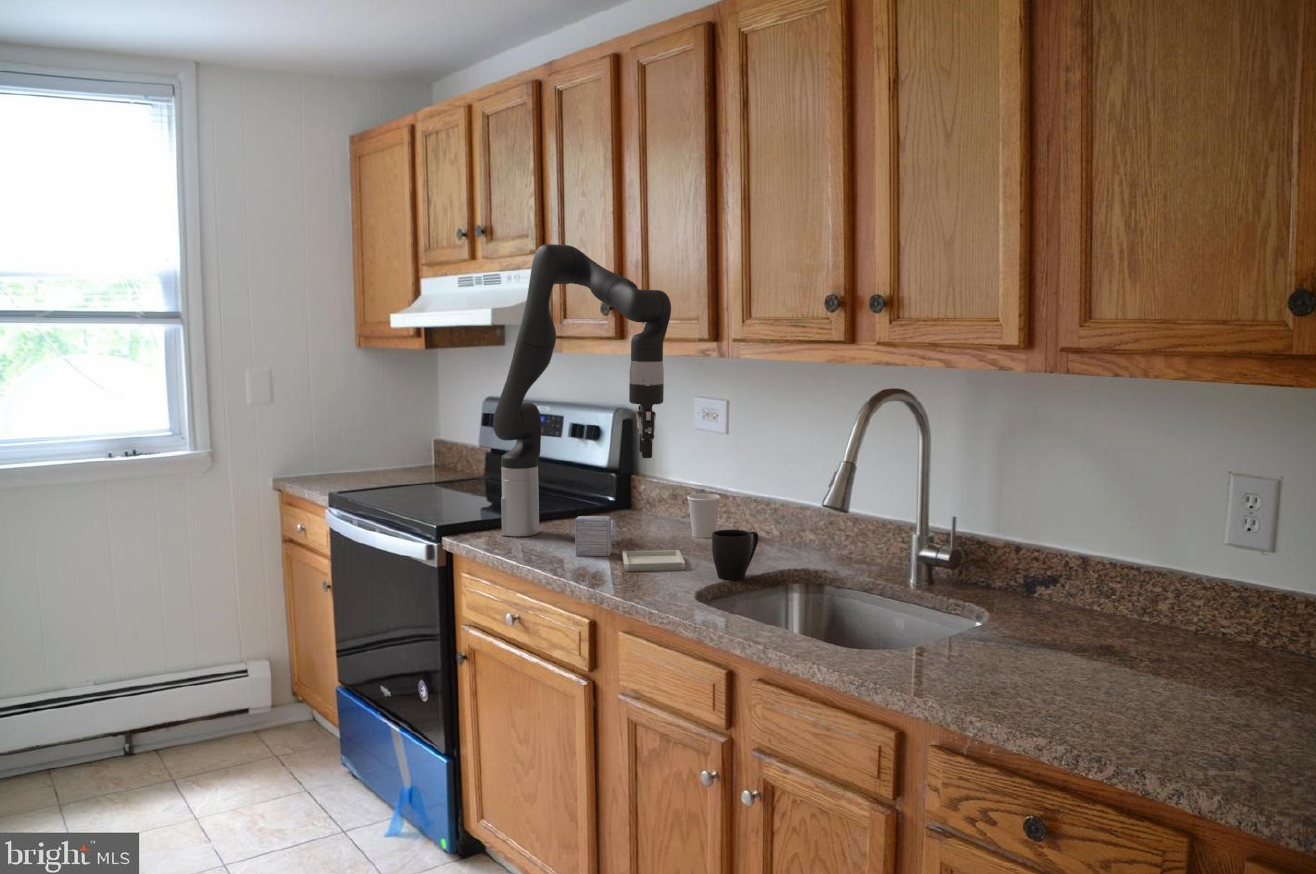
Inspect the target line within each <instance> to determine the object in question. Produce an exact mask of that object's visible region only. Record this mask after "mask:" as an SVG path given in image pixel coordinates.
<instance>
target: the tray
mask: <svg viewBox="0 0 1316 874" xmlns="http://www.w3.org/2000/svg"><path fill="white" fill-rule="evenodd" d="M621 557H622V562H623V567H624V568H623V569H624V572H652V571H653V572H655V571H656V572H657V571H658V572H660V571H661V572H662V571H663V572H664V571H686V562H685V560H684V558H683V555H682V552H681V551H680V549H667V550H661V549H660V550H622V556H621Z"/></svg>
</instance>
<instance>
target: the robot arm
mask: <svg viewBox="0 0 1316 874" xmlns="http://www.w3.org/2000/svg"><path fill="white" fill-rule="evenodd" d="M530 268H531V270H530V276H529V283H528V288H527V294H526V301H525V305H524V310H523V315H522V319H521V322H520V326H519V330H518V333H517V337H516V340H515V341H516V342H515V346H514V349H513V350H514V351H513V355H512V358H511V362H510V366H509V370H508V373H507V376H506V380H505V383H504V385H503V388H502V391H501V395H500V397H499V399H498V402H497V405H496V408H495V411H494V415H493V423H492V425H493V431H494V434H495V436H496V437H497V439H499V440H502V441H516V442H515V445H514V446H513V447H512V448H511V450H509V451H508V452H506V453H504V454H503V455H501V460H500V461H501V463H500V466H501V467H500V468H501V498H500V504H501V505H500V506H501V536H509V537H529V536H530V537H531V536H535V535H538V534H539V533H540V513H539V512H540V508H539V507H540V506H539V505H540V501H539V495H540V494H539V458H540V455H541V446H542V444H541V441H542V418H541V413H540V410H539V408H538V407H537V405H536V404H534V403H532V402H524V399H525V398H526V395H527V393H528V391H529V390H530V389H531V387H532V386H533V385H534V383H535V382H537V380H538V379H539V378H540V377H541V375H542V374H543V373H544V372H545V371H546V369H547V368H548V367H549V365H550V362H551V360H552V357H553V354H554V349H555V345H556V341H557V332H556V327H555V324H554V321H553V317H552V315H551V310H550V300H551V295H552V292H553V289H554V288H553V287H554V285H570V284H572V285H573V284H574V285H578V286H581V287H584V288H585V287H586V288H587V289H589V290H590V292H591V293H592V295H593V296H594V297H595V298H596V299H597V300H598V301H600V302H602V303H604V304H606V305H608V306H609V307H612V308H614V309H616V311H618V312H619V313H620V314H621V315H622V316H623V317H624V318H625V319H627V320H629V321H631V322H635V323H645V324H644V327H643V331H641V332H639V333H636V334H634V335H633V336H632V337H631V341H630V367H629V382H628V383H629V385H628V387H629V388H628V389H629V390H628V391H629V394H628V397H629V398H628V401H629V403H630V404H633V405H638V411H636V421H637V423H636V425H637V426H636V427H637V430H638V433H637V434H638V437H639V440H638V441H639V445H638V447H639V449H638V450H639V452H640V453H641V457H642V458H643V459H652V458H653V441H654V439H655V430H656V418H657V417H656V415H657V414H656V412H655V410H654V411H653V406H654V405H661V404H663V403H664V396H665V395H664V393H665V392H664V389H665V385H664V384H665V380H664V379H665V370H664V340H665V339H666V338H665V337H666V335H667V330H668V326H669V323H670V319H671V313H672V304H671V300H670V297H669V296H668V294H667V293H666V292H664V291H663V290H661V289H640V288H638V286H637V284H636V283H635V282H633V281H632V280H630V279H628V278H626V277H624V276H622V275H620V274H617V273H615V272H612V271H610V270H608V269H606V268H605V267H603V266H602V265H600V264H598V263H597V262H595V261H594V260H592V259H591V258H590V257H589V256H587V254H585V253H584V252H582V251H581V250H580V249H578V248H576V247H574V246H573V245H568V244H553V243H552V244H548V243H546V244H542V245H541V246H539V247H538V249H537V250H536V251H535V254H534V257H533V259H532V264H531V267H530Z"/></svg>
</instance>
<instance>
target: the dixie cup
mask: <svg viewBox="0 0 1316 874" xmlns="http://www.w3.org/2000/svg"><path fill="white" fill-rule="evenodd" d="M721 498H722V497H721V495H718V494H714V493H712V494H711V493H694V494H688V495H687V502H688V509H689V517H690V518H689V519H690V525H691V534H692V537H694V538H697V539H712V533H713V532H715V531H717V523H718V514H719V507H720V500H721Z"/></svg>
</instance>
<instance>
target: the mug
mask: <svg viewBox="0 0 1316 874" xmlns="http://www.w3.org/2000/svg"><path fill="white" fill-rule="evenodd" d="M758 543H759V534H758V532H756V531H754V530H753V531H746V530H743V529H720V530H716V531H715V532H713V533H712V537H711V551H712V558H713V562H714V567H715V569H716V574H717V578H718V579H719V580H721V579H723V580H722V581H726V580H732V581H731V582H736V581H741V580H744V579H745V578H746V574H747V570H748V569H749V566H750V565H751V562H752V559H753V556H754V555H755V552H756V549H757V548H758V547H757V546H758ZM744 577H745V578H744Z"/></svg>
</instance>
